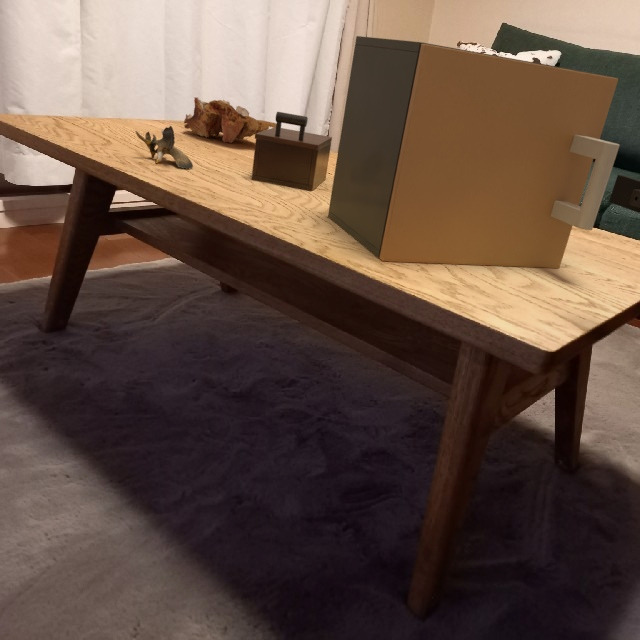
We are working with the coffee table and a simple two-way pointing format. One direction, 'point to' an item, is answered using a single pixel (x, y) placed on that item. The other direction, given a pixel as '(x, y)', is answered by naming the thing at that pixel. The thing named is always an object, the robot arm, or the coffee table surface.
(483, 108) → the cupboard door
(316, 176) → the walnut box
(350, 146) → the cupboard
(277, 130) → the walnut lid
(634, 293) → the coffee table surface
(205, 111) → the mineral formation
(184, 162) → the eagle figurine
